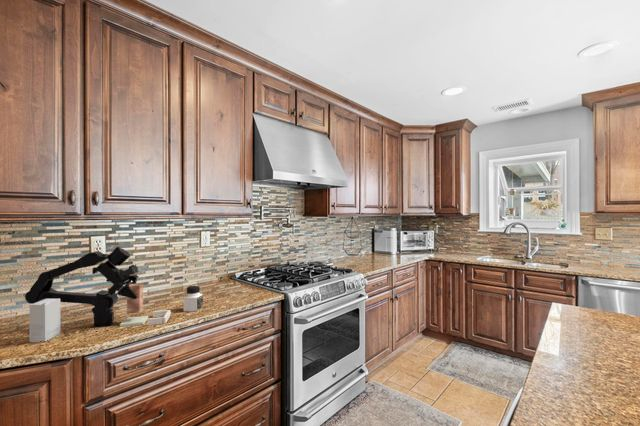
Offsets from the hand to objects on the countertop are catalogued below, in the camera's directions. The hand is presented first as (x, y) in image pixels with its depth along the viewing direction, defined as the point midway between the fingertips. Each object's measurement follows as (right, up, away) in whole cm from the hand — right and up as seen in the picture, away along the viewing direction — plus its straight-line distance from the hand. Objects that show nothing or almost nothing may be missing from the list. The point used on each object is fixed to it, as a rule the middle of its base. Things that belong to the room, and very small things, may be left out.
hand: (138, 296), depth 139 cm
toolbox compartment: (+8, -11, +3) cm, 14 cm away
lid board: (-2, -11, 0) cm, 12 cm away
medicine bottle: (+18, -12, +18) cm, 28 cm away
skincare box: (-26, -12, -18) cm, 34 cm away
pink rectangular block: (-1, -7, 0) cm, 7 cm away
